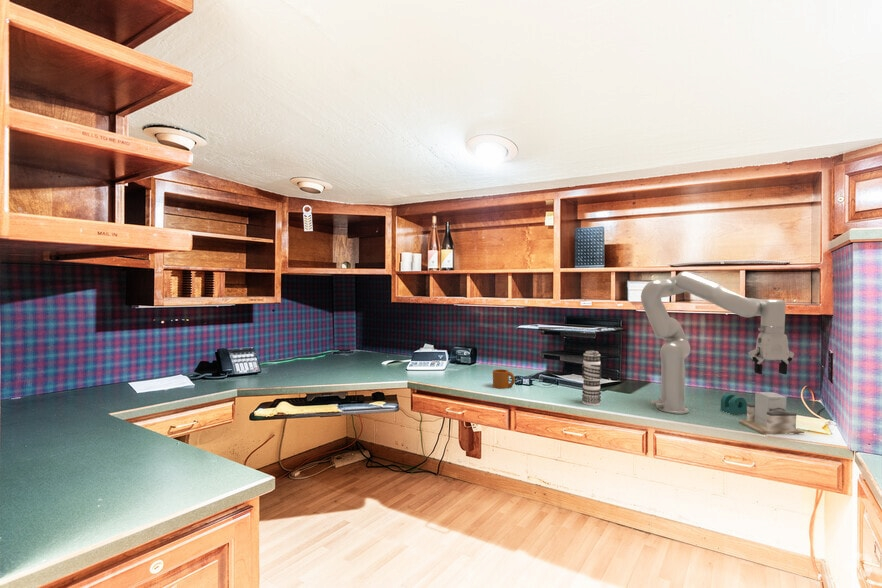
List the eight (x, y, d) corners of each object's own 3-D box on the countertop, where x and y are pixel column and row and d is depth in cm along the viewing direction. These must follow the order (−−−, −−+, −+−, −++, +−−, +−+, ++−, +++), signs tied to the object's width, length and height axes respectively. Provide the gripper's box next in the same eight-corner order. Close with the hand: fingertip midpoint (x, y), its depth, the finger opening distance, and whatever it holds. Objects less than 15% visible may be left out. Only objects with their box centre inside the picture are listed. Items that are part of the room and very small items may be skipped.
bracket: (733, 415, 187) (733, 397, 187) (720, 411, 194) (721, 393, 194) (768, 413, 190) (769, 396, 190) (755, 409, 197) (755, 392, 196)
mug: (511, 390, 231) (511, 373, 230) (490, 388, 236) (490, 371, 236) (516, 386, 239) (516, 370, 238) (495, 384, 244) (495, 368, 244)
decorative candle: (603, 402, 208) (604, 350, 207) (599, 406, 200) (599, 353, 199) (584, 399, 212) (584, 349, 212) (579, 403, 205) (579, 351, 204)
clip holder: (762, 433, 164) (762, 413, 164) (738, 422, 177) (739, 404, 177) (804, 434, 164) (804, 413, 164) (777, 422, 177) (778, 404, 177)
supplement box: (767, 428, 167) (767, 396, 167) (753, 422, 175) (754, 391, 174) (786, 428, 167) (787, 396, 167) (772, 422, 174) (773, 391, 174)
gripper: (757, 331, 166) (755, 375, 167) (802, 332, 166) (800, 376, 166) (743, 329, 173) (742, 371, 174) (786, 329, 173) (784, 371, 174)
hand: (770, 373), depth 170 cm, fingers open, 9 cm apart
